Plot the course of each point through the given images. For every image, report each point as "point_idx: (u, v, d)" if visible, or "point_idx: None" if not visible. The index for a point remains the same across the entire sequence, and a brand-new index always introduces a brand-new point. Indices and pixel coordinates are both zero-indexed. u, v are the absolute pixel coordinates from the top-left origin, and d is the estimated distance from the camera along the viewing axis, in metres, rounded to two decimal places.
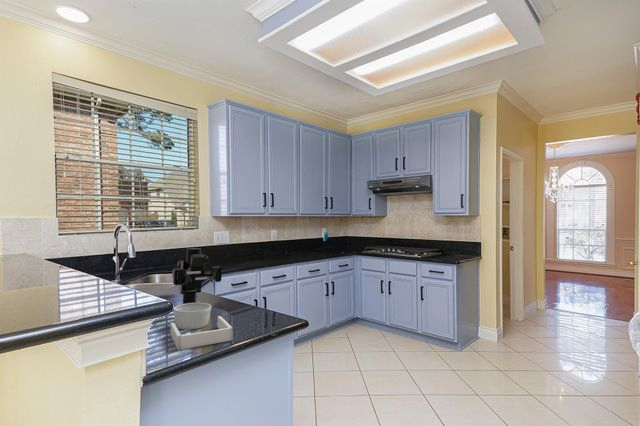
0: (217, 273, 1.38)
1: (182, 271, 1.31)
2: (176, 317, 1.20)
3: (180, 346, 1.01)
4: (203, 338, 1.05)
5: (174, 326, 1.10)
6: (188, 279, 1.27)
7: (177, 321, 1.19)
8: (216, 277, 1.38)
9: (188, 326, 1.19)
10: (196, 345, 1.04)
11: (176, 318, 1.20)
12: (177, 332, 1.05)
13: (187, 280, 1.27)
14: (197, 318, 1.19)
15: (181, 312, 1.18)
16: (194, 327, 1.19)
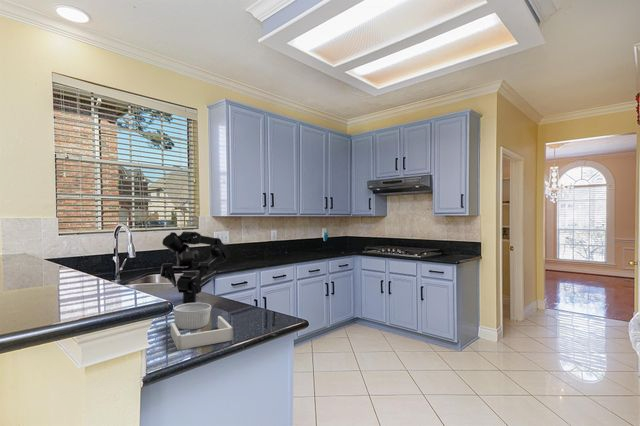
0: (204, 271, 1.42)
1: (170, 270, 1.34)
2: (176, 317, 1.20)
3: (180, 346, 1.01)
4: (203, 338, 1.05)
5: (174, 326, 1.10)
6: (174, 284, 1.32)
7: (177, 321, 1.19)
8: (202, 273, 1.43)
9: (188, 326, 1.19)
10: (196, 345, 1.04)
11: (176, 318, 1.20)
12: (177, 332, 1.05)
13: (173, 284, 1.33)
14: (197, 318, 1.19)
15: (181, 312, 1.18)
16: (194, 327, 1.19)
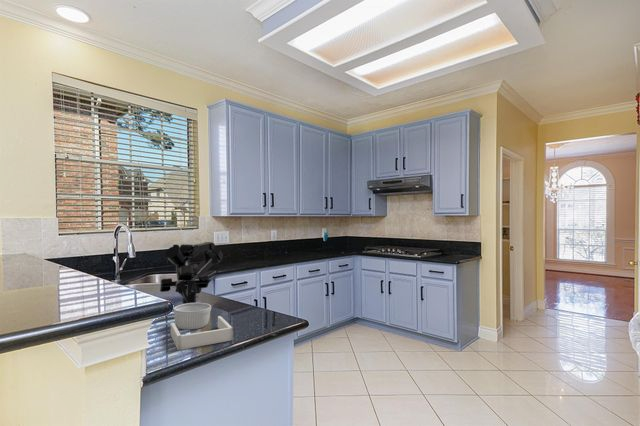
0: (193, 285, 1.38)
1: (181, 285, 1.34)
2: (176, 317, 1.20)
3: (180, 346, 1.01)
4: (203, 338, 1.05)
5: (174, 326, 1.10)
6: (185, 299, 1.33)
7: (177, 321, 1.19)
8: (192, 288, 1.39)
9: (188, 326, 1.19)
10: (196, 345, 1.04)
11: (176, 318, 1.20)
12: (177, 332, 1.05)
13: (184, 298, 1.34)
14: (197, 318, 1.19)
15: (181, 312, 1.18)
16: (194, 327, 1.19)
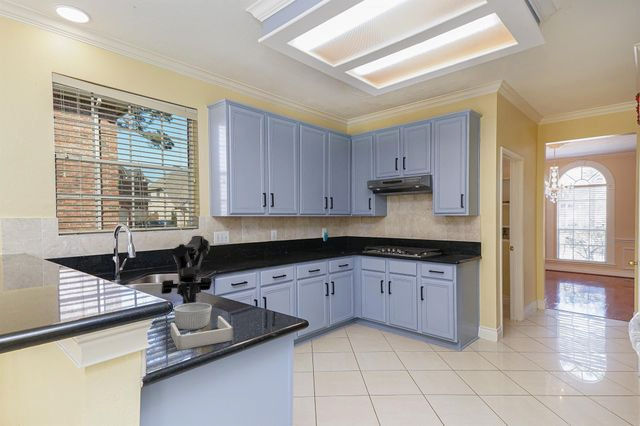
0: (195, 287, 1.34)
1: (182, 286, 1.31)
2: (176, 317, 1.19)
3: (180, 346, 1.01)
4: (203, 338, 1.05)
5: (174, 326, 1.10)
6: (187, 301, 1.29)
7: (177, 321, 1.19)
8: (193, 290, 1.35)
9: (188, 326, 1.18)
10: (196, 345, 1.04)
11: (176, 318, 1.19)
12: (177, 332, 1.05)
13: (186, 300, 1.30)
14: (197, 318, 1.19)
15: (181, 312, 1.18)
16: (194, 327, 1.19)
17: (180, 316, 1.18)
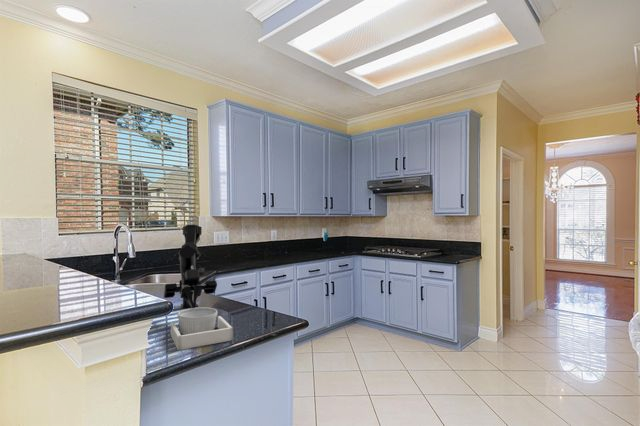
0: (199, 291, 1.28)
1: (186, 290, 1.24)
2: (180, 323, 1.13)
3: (180, 346, 1.01)
4: (203, 338, 1.05)
5: (174, 326, 1.10)
6: (191, 305, 1.23)
7: (182, 327, 1.12)
8: (198, 293, 1.29)
9: None
10: (196, 345, 1.04)
11: (180, 324, 1.12)
12: (177, 332, 1.05)
13: (190, 304, 1.23)
14: (203, 324, 1.12)
15: (186, 318, 1.11)
16: None
17: (185, 322, 1.11)
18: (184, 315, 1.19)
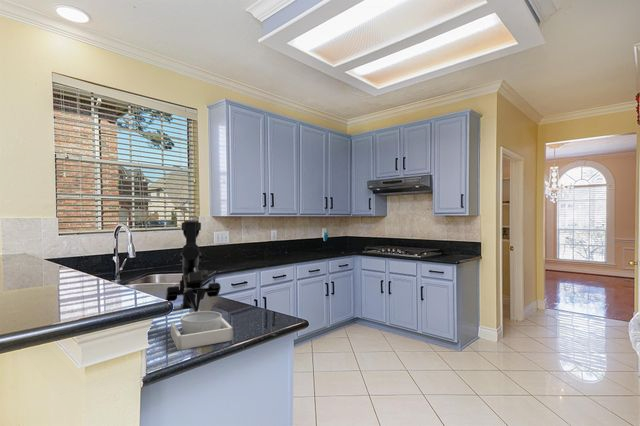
0: (202, 294, 1.24)
1: (189, 293, 1.20)
2: (183, 328, 1.08)
3: (180, 346, 1.01)
4: (203, 338, 1.05)
5: (174, 326, 1.10)
6: (194, 309, 1.19)
7: (185, 332, 1.08)
8: (201, 296, 1.24)
9: None
10: (196, 345, 1.04)
11: (184, 329, 1.08)
12: (177, 332, 1.05)
13: (193, 308, 1.19)
14: (207, 329, 1.08)
15: (190, 322, 1.07)
16: None
17: (188, 327, 1.07)
18: (187, 319, 1.15)
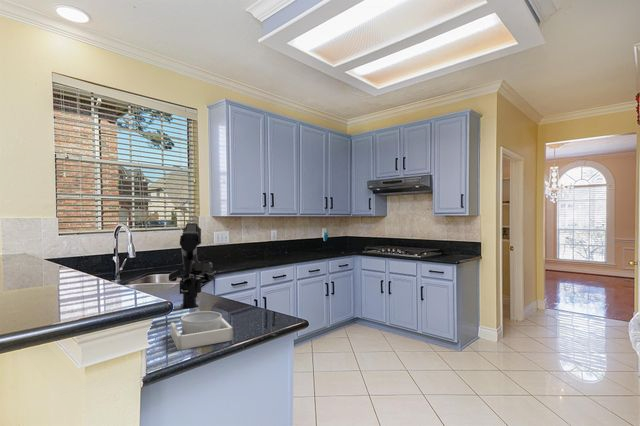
0: None
1: (193, 280, 1.30)
2: (183, 328, 1.08)
3: (180, 346, 1.01)
4: (203, 338, 1.05)
5: (174, 326, 1.10)
6: (193, 295, 1.30)
7: (185, 332, 1.08)
8: None
9: None
10: (196, 345, 1.04)
11: (184, 329, 1.08)
12: (177, 332, 1.05)
13: (191, 294, 1.30)
14: (207, 329, 1.08)
15: (190, 322, 1.07)
16: None
17: (188, 327, 1.07)
18: (187, 319, 1.15)
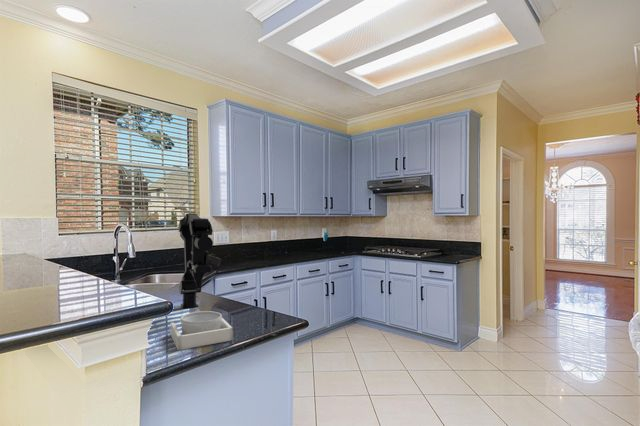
0: None
1: None
2: (183, 328, 1.08)
3: (180, 346, 1.01)
4: (203, 338, 1.05)
5: (174, 326, 1.10)
6: (199, 285, 1.35)
7: (185, 332, 1.08)
8: None
9: None
10: (196, 345, 1.04)
11: (184, 329, 1.08)
12: (177, 332, 1.05)
13: (197, 283, 1.34)
14: (207, 329, 1.08)
15: (190, 322, 1.07)
16: None
17: (188, 327, 1.07)
18: (187, 319, 1.15)
